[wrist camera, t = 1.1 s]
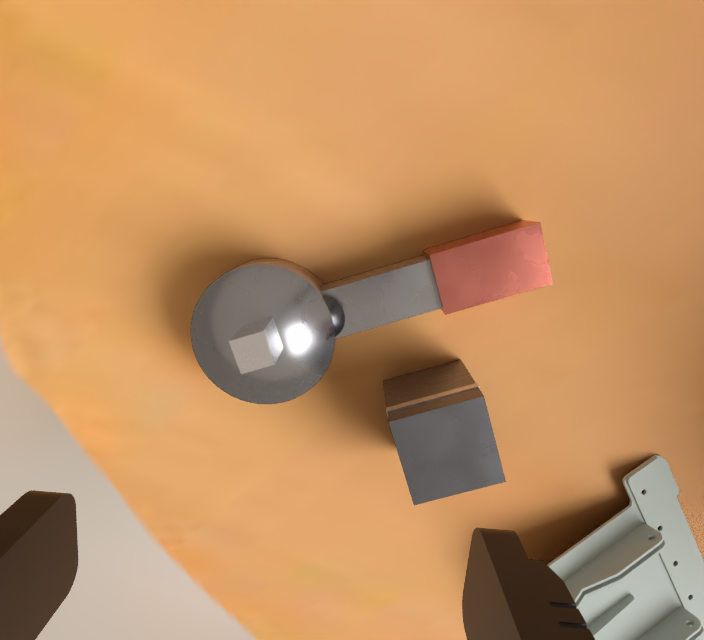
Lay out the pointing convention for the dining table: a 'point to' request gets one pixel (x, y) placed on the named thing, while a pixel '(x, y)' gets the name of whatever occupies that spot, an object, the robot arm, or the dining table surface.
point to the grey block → (442, 432)
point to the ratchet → (346, 307)
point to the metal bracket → (639, 566)
